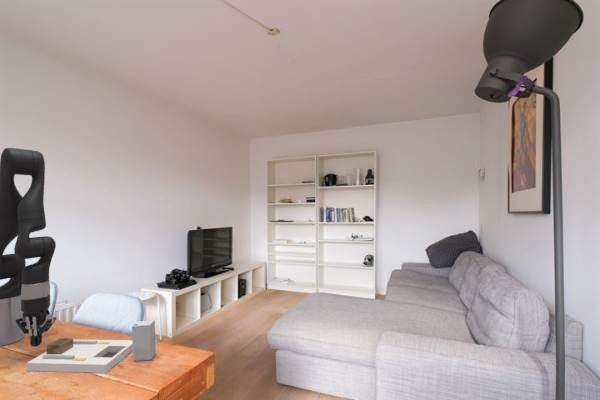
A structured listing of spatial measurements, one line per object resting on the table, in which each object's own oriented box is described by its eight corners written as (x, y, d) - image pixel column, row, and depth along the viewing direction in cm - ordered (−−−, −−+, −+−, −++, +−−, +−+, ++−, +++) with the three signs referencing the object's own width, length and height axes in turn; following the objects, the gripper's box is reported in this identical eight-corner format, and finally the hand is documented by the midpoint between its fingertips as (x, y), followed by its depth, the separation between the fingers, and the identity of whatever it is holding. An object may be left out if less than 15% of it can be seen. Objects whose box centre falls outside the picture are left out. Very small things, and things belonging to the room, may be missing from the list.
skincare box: (156, 354, 103) (156, 319, 103) (151, 361, 99) (150, 324, 99) (137, 355, 103) (137, 320, 103) (131, 362, 98) (131, 325, 98)
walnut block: (46, 354, 99) (46, 345, 99) (59, 346, 104) (59, 338, 104) (60, 354, 98) (60, 345, 98) (73, 346, 103) (73, 338, 103)
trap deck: (26, 370, 93) (26, 360, 93) (68, 346, 109) (68, 337, 109) (105, 372, 92) (105, 362, 92) (136, 347, 108) (136, 338, 108)
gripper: (6, 298, 98) (6, 350, 98) (44, 298, 97) (44, 351, 97) (28, 291, 106) (28, 340, 105) (63, 291, 105) (63, 340, 105)
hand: (36, 345), depth 101 cm, fingers closed
